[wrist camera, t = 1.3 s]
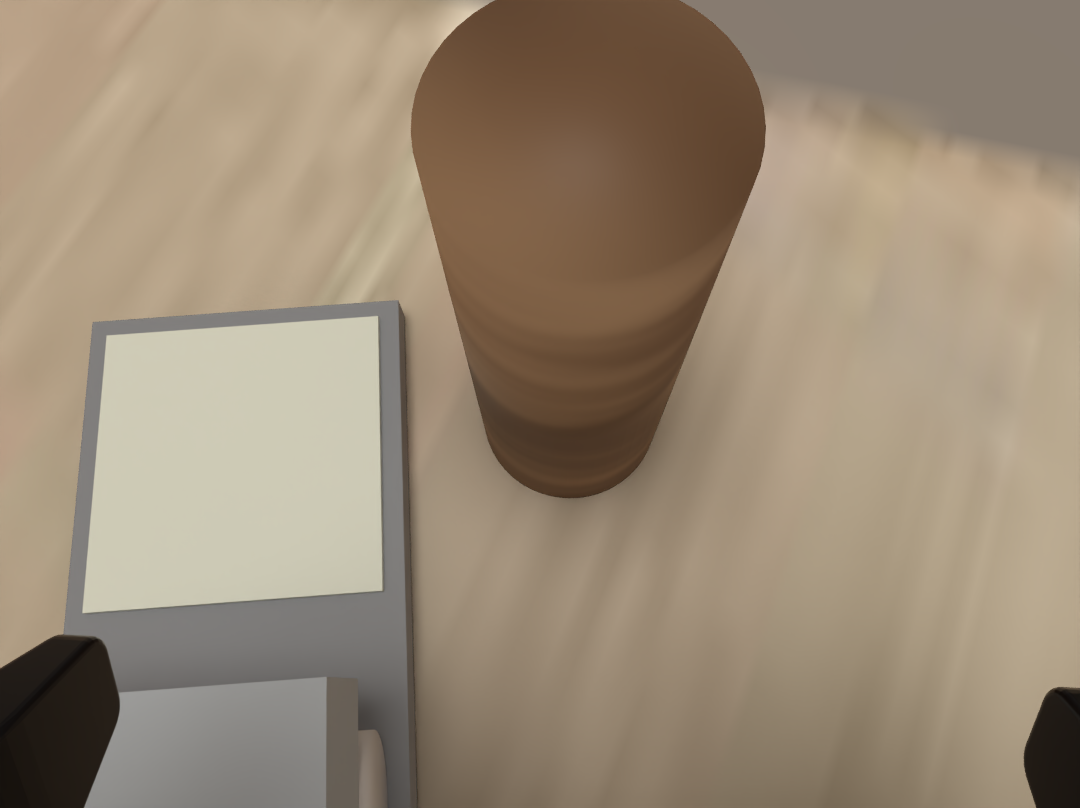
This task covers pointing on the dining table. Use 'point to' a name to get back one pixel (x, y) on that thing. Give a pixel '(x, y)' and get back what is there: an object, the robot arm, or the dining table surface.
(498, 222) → the walnut roller
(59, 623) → the dining table surface
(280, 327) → the grey stand
